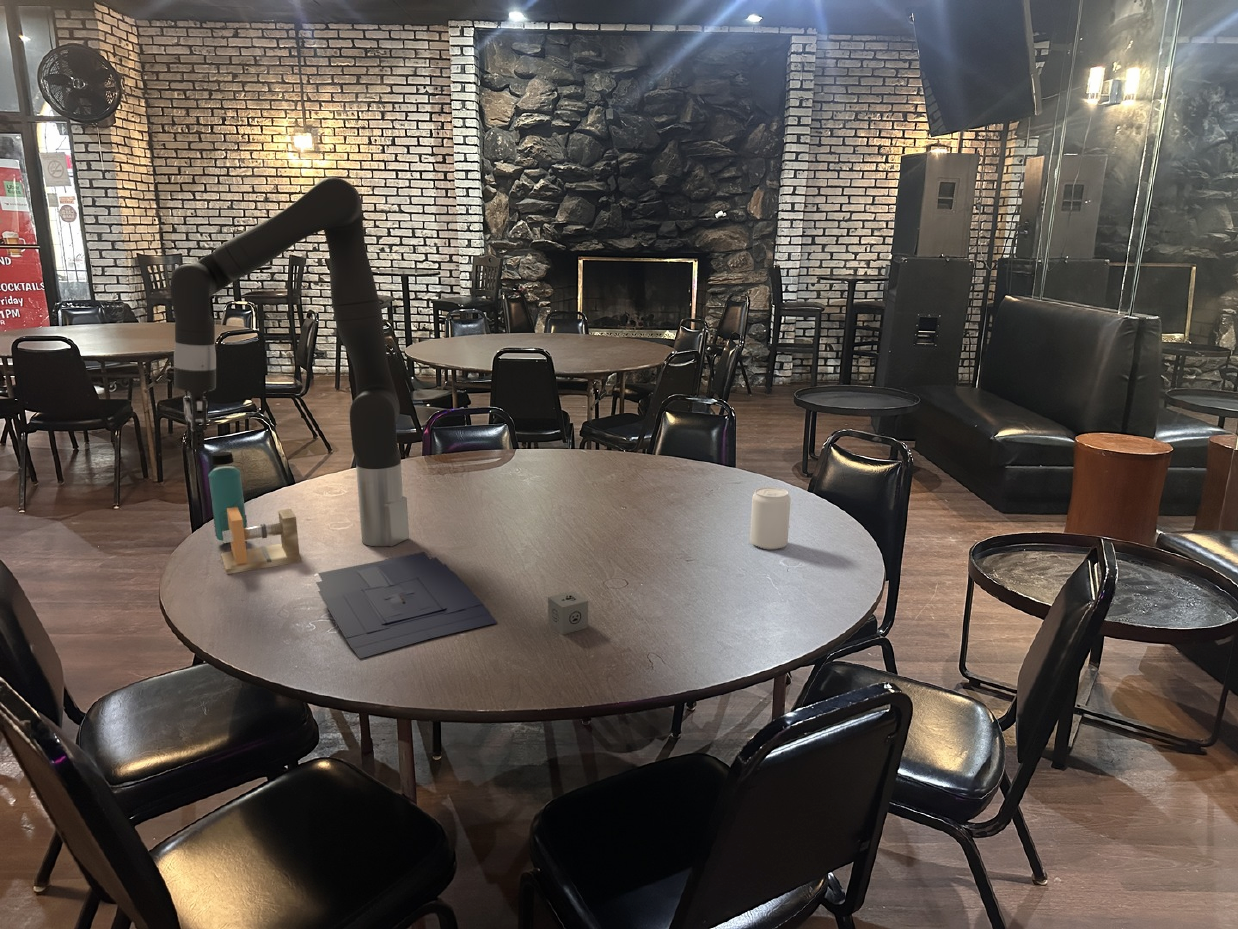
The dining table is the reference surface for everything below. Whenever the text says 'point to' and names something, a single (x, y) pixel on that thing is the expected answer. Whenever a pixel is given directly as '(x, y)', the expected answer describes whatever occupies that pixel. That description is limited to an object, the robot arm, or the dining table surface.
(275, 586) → the dining table surface
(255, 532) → the pipe stand
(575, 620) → the dice cube
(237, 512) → the collar
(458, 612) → the dark blue flat slab
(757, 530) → the beverage can
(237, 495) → the beverage bottle
